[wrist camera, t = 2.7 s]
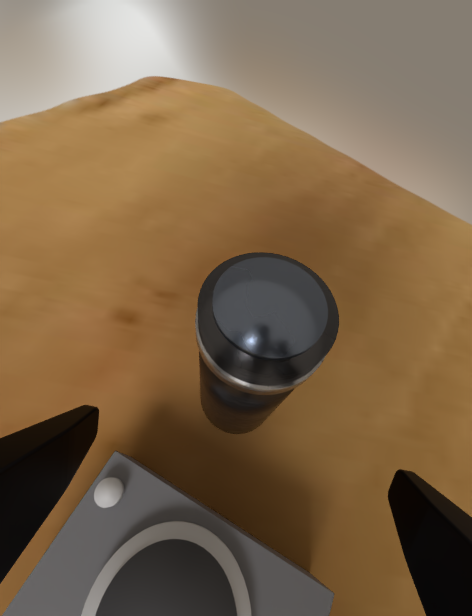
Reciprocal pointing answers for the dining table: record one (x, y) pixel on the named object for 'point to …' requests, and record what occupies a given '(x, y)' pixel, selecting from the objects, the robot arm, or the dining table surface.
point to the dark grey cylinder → (259, 336)
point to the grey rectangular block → (161, 559)
